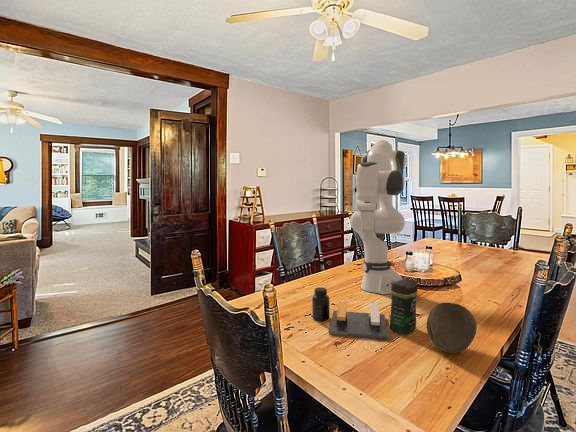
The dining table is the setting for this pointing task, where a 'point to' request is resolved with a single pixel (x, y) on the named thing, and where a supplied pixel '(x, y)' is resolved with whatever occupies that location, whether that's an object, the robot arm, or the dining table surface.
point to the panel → (358, 326)
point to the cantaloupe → (451, 327)
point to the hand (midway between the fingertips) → (366, 239)
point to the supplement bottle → (320, 305)
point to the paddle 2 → (375, 314)
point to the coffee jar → (403, 306)
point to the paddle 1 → (342, 311)
